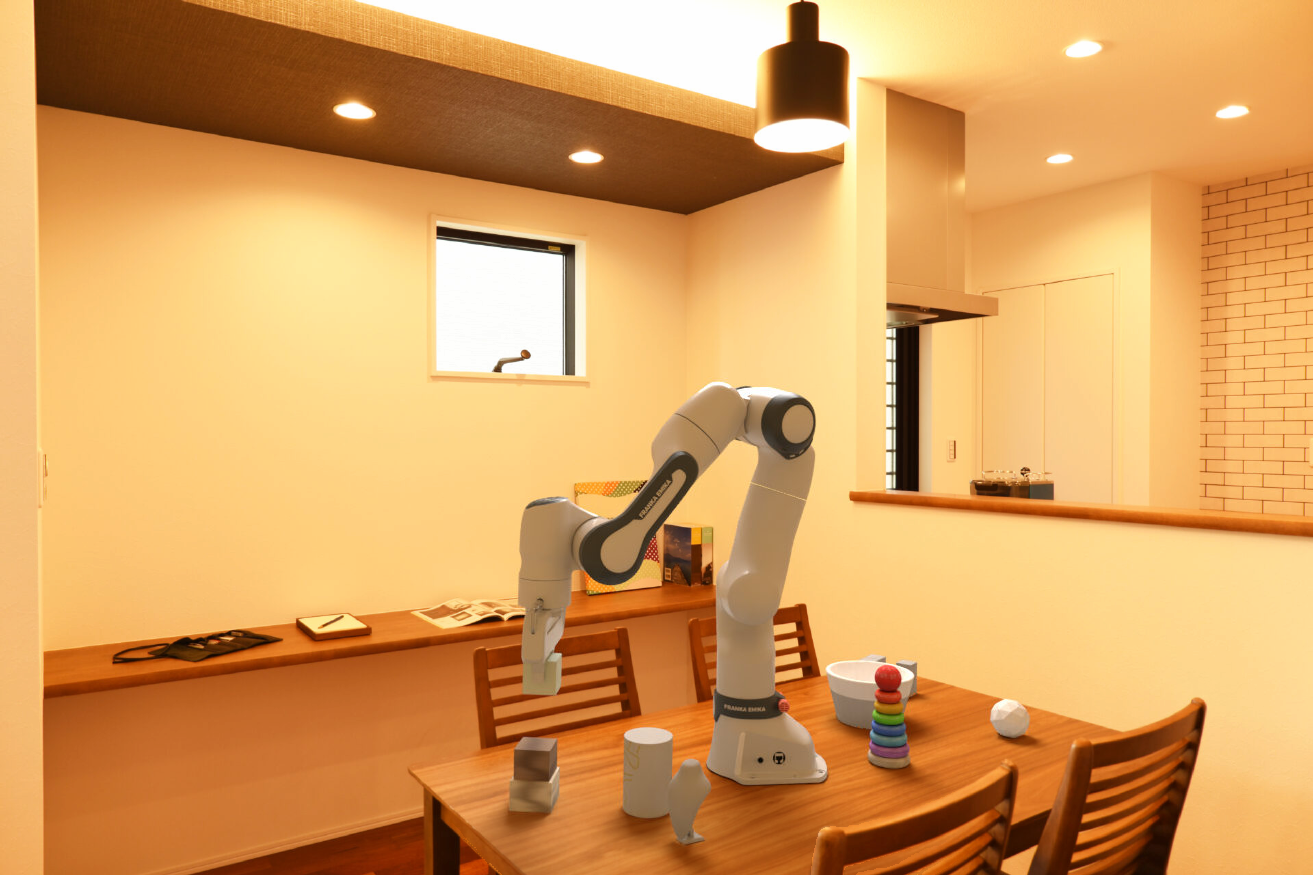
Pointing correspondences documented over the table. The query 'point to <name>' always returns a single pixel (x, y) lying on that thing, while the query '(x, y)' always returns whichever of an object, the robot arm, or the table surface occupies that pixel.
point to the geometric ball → (1010, 718)
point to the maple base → (534, 794)
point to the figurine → (687, 799)
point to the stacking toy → (888, 722)
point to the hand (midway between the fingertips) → (542, 677)
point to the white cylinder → (647, 772)
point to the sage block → (551, 677)
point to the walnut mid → (535, 759)
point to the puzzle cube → (902, 663)
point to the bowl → (860, 690)
